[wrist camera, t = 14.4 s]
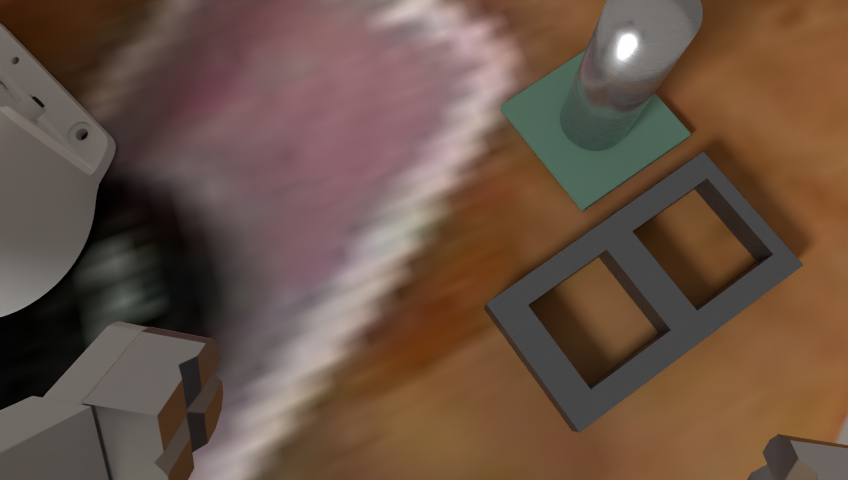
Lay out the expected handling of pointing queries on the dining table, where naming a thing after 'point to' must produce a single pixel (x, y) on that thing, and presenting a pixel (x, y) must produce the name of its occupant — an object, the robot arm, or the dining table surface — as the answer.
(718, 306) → the grey double frame
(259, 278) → the dining table surface
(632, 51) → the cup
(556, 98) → the mat
